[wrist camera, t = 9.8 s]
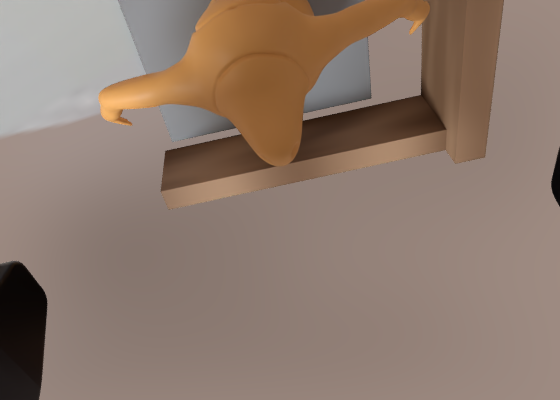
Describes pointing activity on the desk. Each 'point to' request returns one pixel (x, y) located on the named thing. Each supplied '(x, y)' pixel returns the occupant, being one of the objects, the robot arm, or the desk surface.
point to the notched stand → (331, 102)
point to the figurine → (258, 66)
